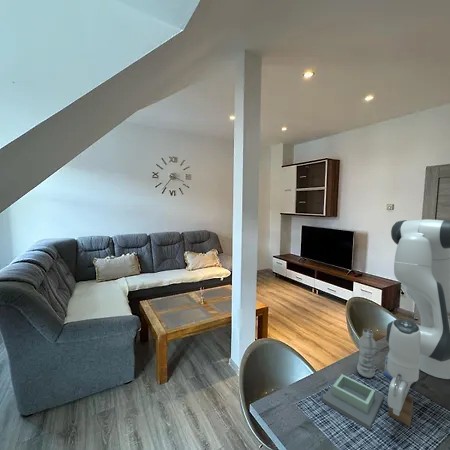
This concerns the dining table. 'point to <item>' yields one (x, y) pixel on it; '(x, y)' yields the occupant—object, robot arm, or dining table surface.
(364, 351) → the plastic bottle
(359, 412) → the board
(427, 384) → the dining table surface
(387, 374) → the medicine box
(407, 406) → the walnut block
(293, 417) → the dining table surface
